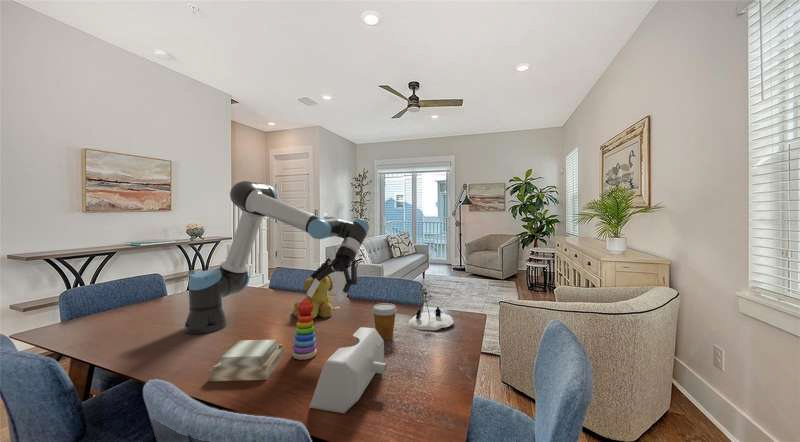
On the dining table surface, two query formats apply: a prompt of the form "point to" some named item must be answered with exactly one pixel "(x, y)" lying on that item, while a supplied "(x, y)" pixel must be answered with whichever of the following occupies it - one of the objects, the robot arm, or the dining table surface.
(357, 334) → the tank
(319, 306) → the giraffe plush
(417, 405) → the dining table surface
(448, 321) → the figurine
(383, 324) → the disposable coffee cup
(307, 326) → the stacking toy
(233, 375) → the plinth
